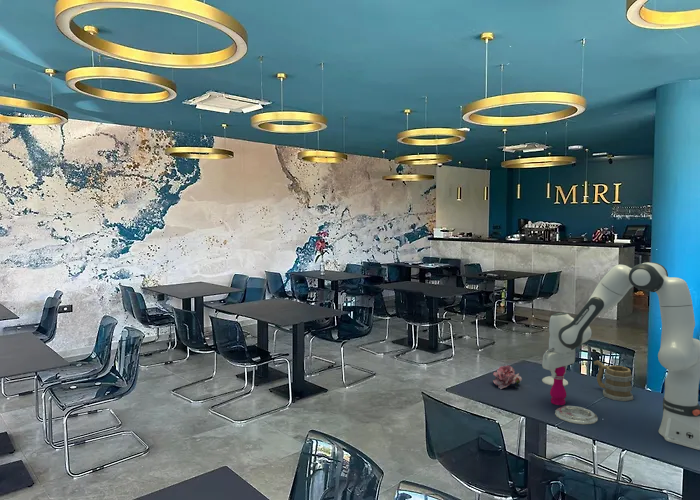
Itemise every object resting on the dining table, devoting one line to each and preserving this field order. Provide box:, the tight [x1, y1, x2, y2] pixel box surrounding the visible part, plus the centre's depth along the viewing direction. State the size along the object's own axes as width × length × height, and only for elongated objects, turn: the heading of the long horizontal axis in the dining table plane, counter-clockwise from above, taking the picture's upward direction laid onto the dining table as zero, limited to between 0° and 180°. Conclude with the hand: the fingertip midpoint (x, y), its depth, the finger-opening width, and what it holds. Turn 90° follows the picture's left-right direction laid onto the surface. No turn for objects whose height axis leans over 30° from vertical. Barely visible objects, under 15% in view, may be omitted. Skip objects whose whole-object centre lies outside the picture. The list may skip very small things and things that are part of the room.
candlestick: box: [541, 375, 569, 387], centre depth 259 cm, size 13×13×30 cm
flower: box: [492, 364, 523, 390], centre depth 254 cm, size 15×15×10 cm
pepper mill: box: [549, 366, 567, 406], centre depth 230 cm, size 7×7×20 cm
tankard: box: [593, 359, 634, 402], centre depth 242 cm, size 20×13×15 cm, turn 22°
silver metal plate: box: [554, 405, 599, 426], centre depth 215 cm, size 17×17×2 cm
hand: (558, 375), depth 230 cm, fingers closed on pepper mill, 5 cm apart
